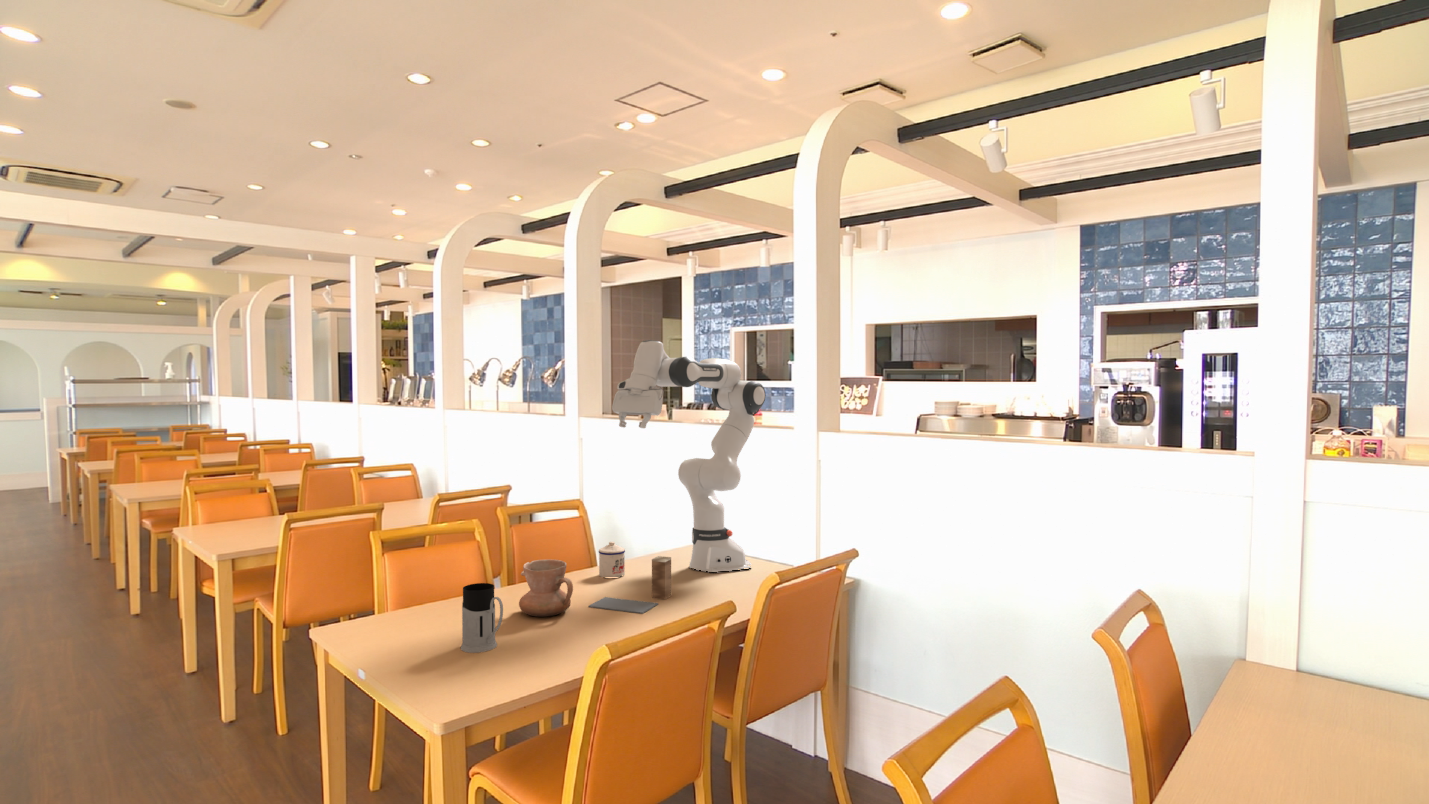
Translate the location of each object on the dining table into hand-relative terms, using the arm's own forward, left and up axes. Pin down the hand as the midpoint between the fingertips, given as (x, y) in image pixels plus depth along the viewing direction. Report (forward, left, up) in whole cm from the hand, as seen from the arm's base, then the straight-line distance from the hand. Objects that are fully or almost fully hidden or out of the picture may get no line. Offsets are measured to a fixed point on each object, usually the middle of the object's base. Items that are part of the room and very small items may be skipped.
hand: (631, 427), depth 243 cm
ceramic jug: (+25, +24, -52) cm, 63 cm away
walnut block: (-9, +12, -52) cm, 54 cm away
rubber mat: (+3, +20, -52) cm, 56 cm away
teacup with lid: (+5, -18, -52) cm, 55 cm away
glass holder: (+38, +52, -52) cm, 83 cm away
